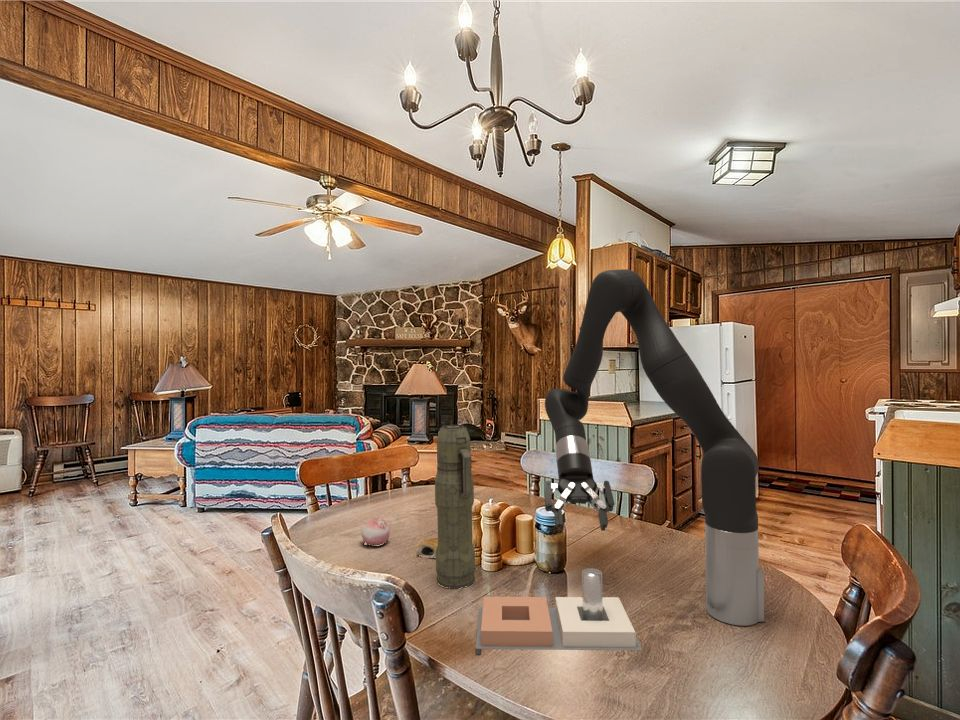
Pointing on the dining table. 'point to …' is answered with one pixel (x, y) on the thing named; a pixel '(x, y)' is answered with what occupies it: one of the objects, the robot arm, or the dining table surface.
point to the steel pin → (592, 595)
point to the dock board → (552, 625)
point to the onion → (376, 531)
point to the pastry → (428, 547)
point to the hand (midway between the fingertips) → (582, 528)
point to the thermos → (454, 508)
